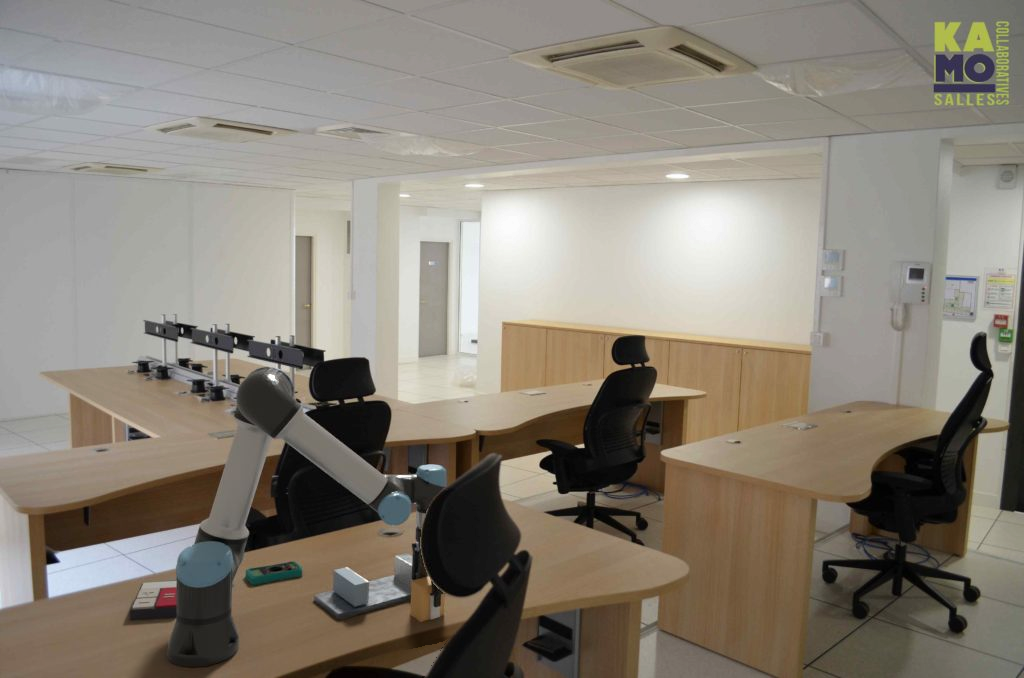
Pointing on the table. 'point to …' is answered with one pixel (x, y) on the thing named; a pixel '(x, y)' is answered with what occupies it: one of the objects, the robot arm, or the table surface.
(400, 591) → the vise base
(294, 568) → the digital multimeter
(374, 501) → the robot arm
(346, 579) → the block
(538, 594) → the table surface
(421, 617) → the light orange block
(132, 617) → the calculator
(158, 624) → the table surface
